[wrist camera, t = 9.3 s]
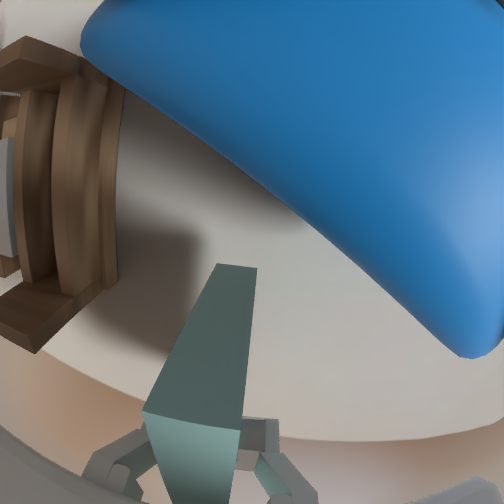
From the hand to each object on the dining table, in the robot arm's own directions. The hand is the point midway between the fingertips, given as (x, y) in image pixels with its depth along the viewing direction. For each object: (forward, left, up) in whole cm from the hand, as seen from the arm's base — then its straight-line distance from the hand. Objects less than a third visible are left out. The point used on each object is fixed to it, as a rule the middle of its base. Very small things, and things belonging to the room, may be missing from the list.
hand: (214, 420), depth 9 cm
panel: (0, 0, -5) cm, 5 cm away
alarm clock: (-11, +3, -8) cm, 14 cm away
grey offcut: (-7, -15, -5) cm, 17 cm away
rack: (-8, -13, -8) cm, 17 cm away
